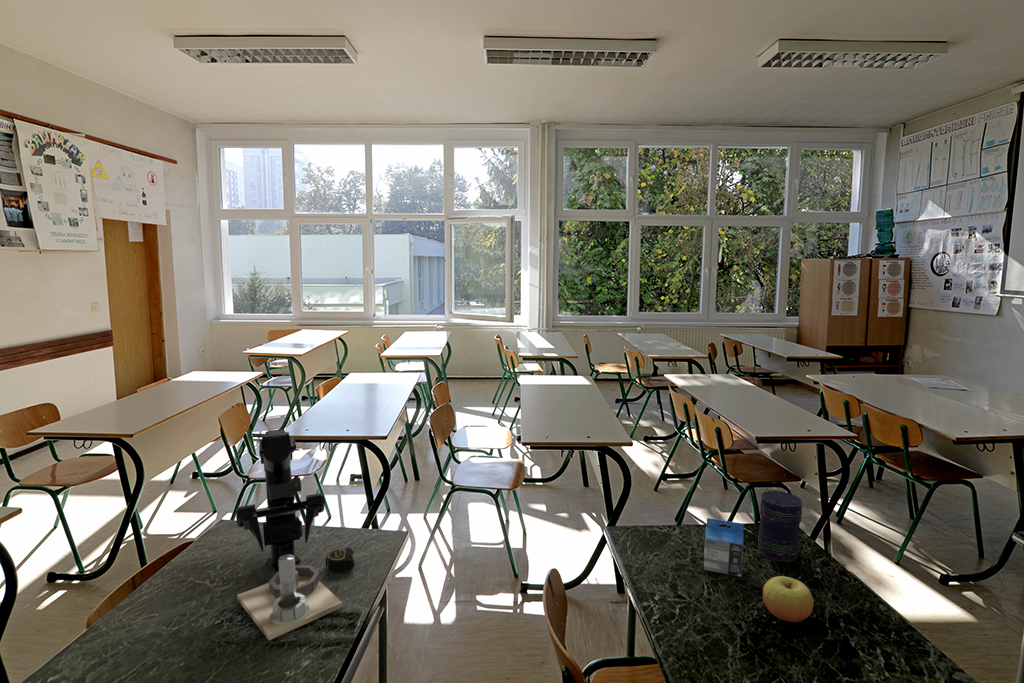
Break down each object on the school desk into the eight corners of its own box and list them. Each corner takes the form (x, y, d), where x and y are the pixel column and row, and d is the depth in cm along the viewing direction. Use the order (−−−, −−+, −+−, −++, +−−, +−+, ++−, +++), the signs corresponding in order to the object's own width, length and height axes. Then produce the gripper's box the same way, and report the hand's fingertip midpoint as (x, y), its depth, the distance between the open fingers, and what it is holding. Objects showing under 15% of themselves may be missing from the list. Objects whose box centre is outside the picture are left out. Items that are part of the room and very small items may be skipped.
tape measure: (354, 573, 139) (354, 558, 138) (325, 577, 137) (325, 563, 136) (353, 559, 145) (353, 545, 145) (325, 563, 143) (325, 549, 143)
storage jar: (765, 538, 156) (769, 487, 153) (803, 551, 149) (808, 498, 147) (751, 552, 148) (755, 498, 146) (790, 566, 142) (795, 510, 140)
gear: (267, 615, 120) (263, 561, 118) (292, 600, 125) (288, 547, 123) (287, 625, 116) (283, 569, 115) (312, 609, 122) (309, 555, 120)
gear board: (237, 599, 128) (236, 581, 127) (306, 572, 139) (305, 555, 138) (268, 640, 114) (267, 620, 113) (342, 607, 125) (341, 588, 124)
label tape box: (703, 570, 140) (705, 524, 138) (704, 562, 143) (706, 517, 142) (741, 578, 136) (744, 530, 135) (741, 569, 140) (744, 523, 138)
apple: (791, 634, 116) (794, 599, 115) (751, 609, 124) (754, 575, 123) (821, 620, 120) (824, 586, 119) (781, 596, 129) (783, 564, 128)
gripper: (233, 473, 123) (236, 543, 115) (322, 460, 131) (330, 525, 123) (236, 493, 132) (239, 560, 124) (319, 480, 140) (327, 542, 132)
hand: (284, 546), depth 125 cm, fingers open, 9 cm apart
